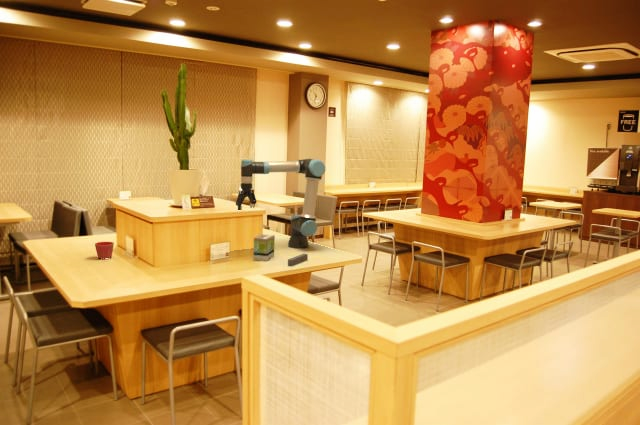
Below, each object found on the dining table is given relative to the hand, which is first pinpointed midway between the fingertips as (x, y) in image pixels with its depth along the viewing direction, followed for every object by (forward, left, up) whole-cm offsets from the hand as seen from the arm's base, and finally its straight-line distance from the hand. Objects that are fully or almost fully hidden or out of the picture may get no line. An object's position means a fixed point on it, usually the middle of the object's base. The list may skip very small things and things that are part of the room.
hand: (246, 214), depth 336 cm
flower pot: (+57, -69, -28) cm, 93 cm away
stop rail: (+2, +41, -27) cm, 49 cm away
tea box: (+3, +16, -28) cm, 32 cm away
